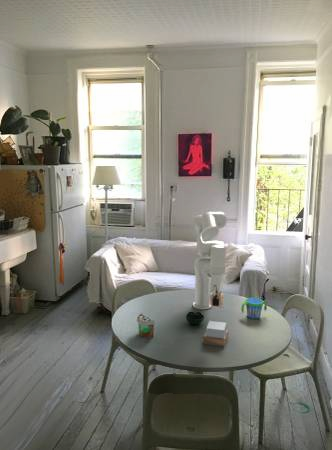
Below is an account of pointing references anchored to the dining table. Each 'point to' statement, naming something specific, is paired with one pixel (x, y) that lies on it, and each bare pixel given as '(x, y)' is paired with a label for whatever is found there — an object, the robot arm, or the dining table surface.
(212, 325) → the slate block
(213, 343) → the walnut slab
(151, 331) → the food container
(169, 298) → the dining table surface
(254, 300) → the snack cup
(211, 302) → the terracotta cube
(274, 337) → the dining table surface
